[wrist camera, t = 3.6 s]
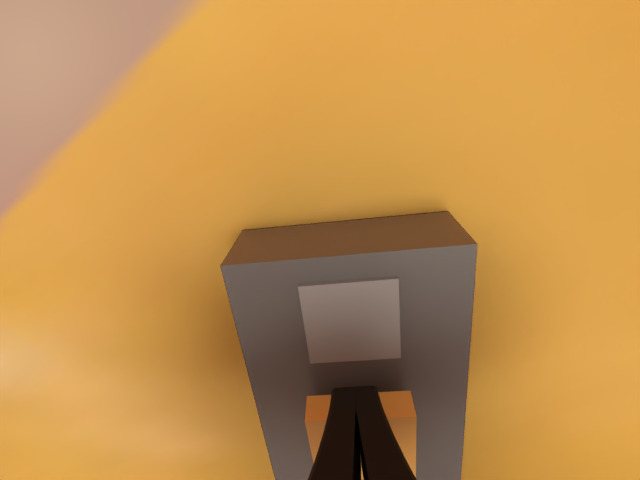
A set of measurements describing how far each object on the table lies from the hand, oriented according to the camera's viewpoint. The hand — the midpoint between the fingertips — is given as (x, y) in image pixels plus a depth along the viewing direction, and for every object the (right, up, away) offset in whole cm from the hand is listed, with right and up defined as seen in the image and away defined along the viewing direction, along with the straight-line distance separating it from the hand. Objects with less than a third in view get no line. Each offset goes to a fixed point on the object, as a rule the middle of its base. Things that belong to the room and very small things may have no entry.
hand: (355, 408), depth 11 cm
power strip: (+1, -3, +6) cm, 7 cm away
